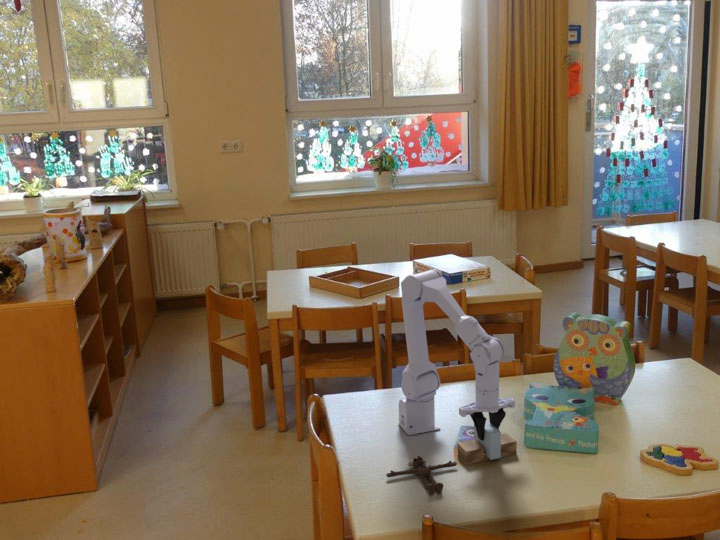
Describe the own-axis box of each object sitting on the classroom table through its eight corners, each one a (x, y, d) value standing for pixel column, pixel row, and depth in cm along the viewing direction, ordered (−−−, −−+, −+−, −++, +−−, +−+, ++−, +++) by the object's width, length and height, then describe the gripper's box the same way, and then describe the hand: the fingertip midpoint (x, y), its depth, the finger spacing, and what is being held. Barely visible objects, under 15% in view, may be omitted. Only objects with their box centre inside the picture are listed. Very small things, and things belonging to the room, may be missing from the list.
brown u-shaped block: (466, 464, 187) (466, 451, 186) (457, 455, 191) (457, 442, 190) (516, 453, 191) (516, 441, 190) (506, 445, 195) (506, 432, 195)
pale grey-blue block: (490, 459, 186) (490, 434, 185) (473, 443, 195) (473, 418, 193) (500, 457, 187) (500, 432, 185) (483, 441, 195) (483, 417, 194)
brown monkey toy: (398, 491, 171) (380, 455, 184) (398, 506, 172) (380, 470, 186) (472, 478, 175) (450, 444, 188) (472, 493, 177) (449, 459, 190)
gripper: (467, 398, 181) (468, 449, 184) (521, 388, 185) (520, 439, 188) (455, 387, 187) (455, 437, 191) (507, 378, 192) (506, 427, 195)
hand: (487, 437), depth 190 cm, fingers closed on pale grey-blue block, 3 cm apart
